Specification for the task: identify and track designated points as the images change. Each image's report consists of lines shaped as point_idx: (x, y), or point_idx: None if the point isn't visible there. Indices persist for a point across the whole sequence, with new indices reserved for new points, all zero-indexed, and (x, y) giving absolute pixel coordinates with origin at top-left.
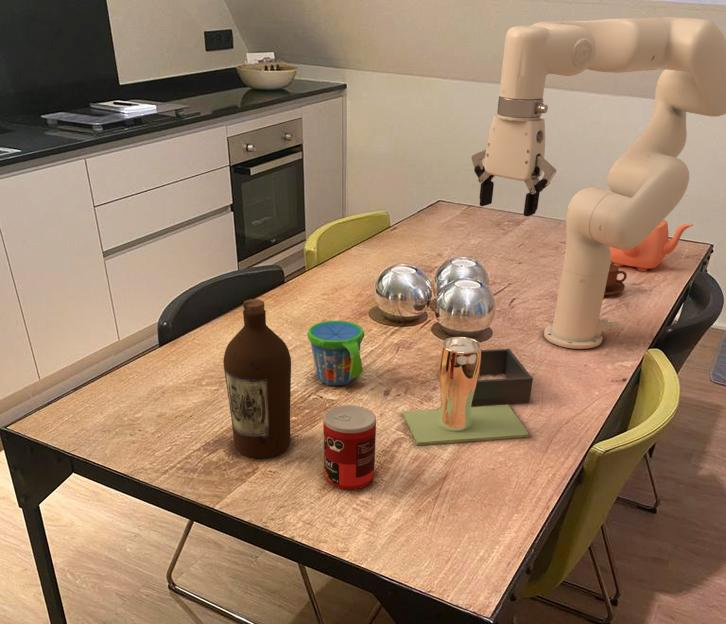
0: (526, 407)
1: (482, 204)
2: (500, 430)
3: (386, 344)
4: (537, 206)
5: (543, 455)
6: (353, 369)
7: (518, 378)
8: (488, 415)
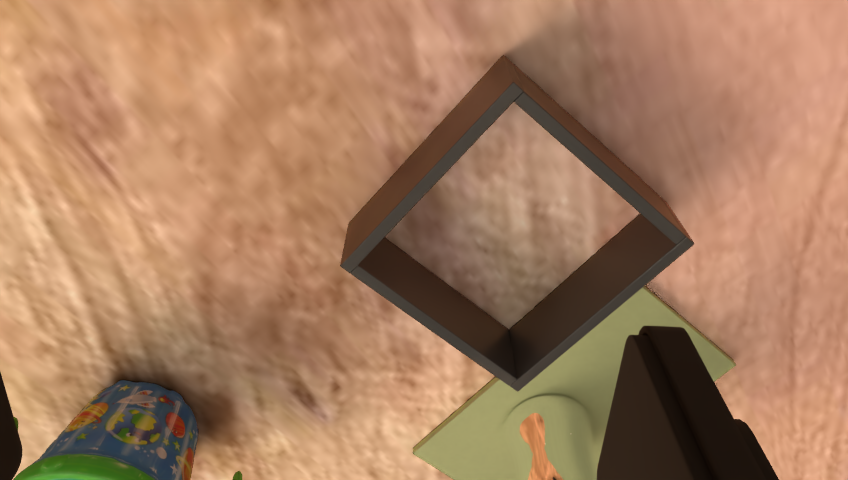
0: None
1: (6, 469)
2: None
3: (33, 151)
4: (756, 444)
5: (792, 401)
6: None
7: (650, 274)
8: (603, 351)
